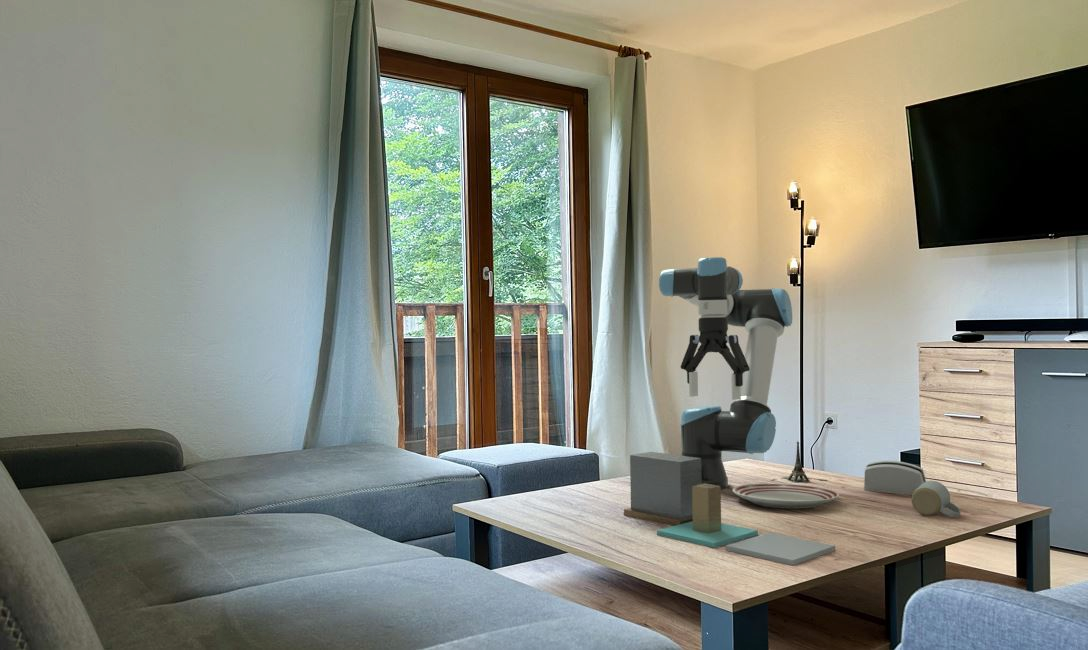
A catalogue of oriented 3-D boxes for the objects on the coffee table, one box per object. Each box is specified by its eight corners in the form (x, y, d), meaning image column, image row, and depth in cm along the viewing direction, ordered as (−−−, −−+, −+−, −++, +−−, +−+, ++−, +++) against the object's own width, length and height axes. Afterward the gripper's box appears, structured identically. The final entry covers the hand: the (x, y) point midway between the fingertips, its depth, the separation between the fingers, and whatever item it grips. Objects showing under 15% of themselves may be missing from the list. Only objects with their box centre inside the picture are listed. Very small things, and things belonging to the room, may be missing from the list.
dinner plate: (750, 489, 249) (750, 477, 249) (849, 498, 235) (849, 485, 235) (718, 507, 225) (718, 494, 225) (825, 518, 211) (825, 504, 211)
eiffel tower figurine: (829, 482, 260) (829, 437, 260) (819, 487, 252) (818, 441, 252) (781, 477, 269) (780, 434, 269) (769, 482, 260) (768, 438, 260)
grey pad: (725, 550, 181) (725, 545, 181) (769, 537, 192) (769, 532, 192) (793, 565, 169) (792, 560, 169) (835, 550, 180) (835, 545, 180)
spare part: (692, 530, 195) (692, 486, 195) (705, 526, 198) (704, 483, 198) (708, 533, 191) (708, 488, 191) (721, 530, 194) (720, 485, 194)
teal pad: (656, 534, 195) (656, 530, 195) (700, 523, 206) (700, 519, 206) (714, 547, 183) (714, 542, 183) (757, 534, 194) (757, 530, 194)
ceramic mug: (909, 514, 212) (909, 483, 212) (918, 508, 219) (918, 478, 218) (956, 521, 206) (956, 489, 206) (963, 514, 212) (964, 483, 212)
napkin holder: (930, 493, 239) (927, 460, 236) (926, 501, 235) (923, 469, 232) (868, 487, 248) (864, 456, 246) (863, 495, 245) (860, 463, 242)
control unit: (623, 515, 216) (623, 455, 216) (652, 508, 223) (652, 450, 223) (680, 527, 202) (679, 463, 202) (709, 519, 210) (708, 458, 210)
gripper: (666, 317, 232) (668, 396, 232) (744, 316, 213) (746, 401, 214) (684, 316, 237) (685, 394, 237) (762, 315, 219) (763, 399, 219)
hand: (714, 397), depth 225 cm, fingers open, 13 cm apart
